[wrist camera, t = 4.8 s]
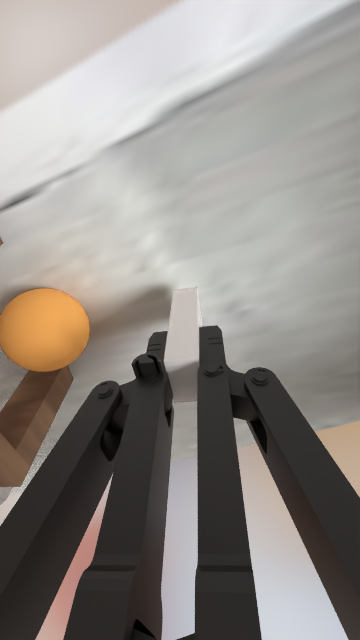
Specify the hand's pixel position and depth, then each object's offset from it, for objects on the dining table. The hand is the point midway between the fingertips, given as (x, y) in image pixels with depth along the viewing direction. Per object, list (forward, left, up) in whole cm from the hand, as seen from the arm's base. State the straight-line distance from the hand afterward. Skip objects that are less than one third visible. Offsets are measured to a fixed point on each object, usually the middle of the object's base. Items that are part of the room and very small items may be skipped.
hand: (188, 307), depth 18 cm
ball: (+9, 0, +1) cm, 10 cm away
